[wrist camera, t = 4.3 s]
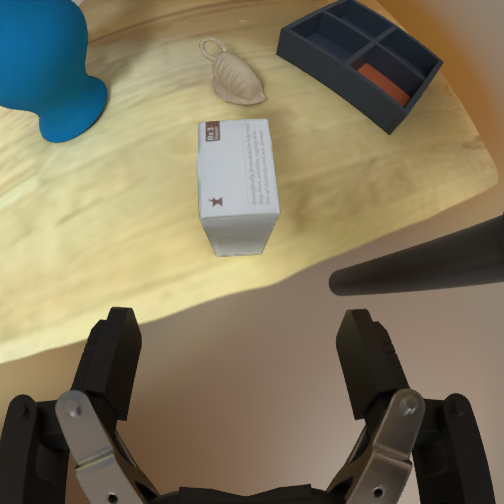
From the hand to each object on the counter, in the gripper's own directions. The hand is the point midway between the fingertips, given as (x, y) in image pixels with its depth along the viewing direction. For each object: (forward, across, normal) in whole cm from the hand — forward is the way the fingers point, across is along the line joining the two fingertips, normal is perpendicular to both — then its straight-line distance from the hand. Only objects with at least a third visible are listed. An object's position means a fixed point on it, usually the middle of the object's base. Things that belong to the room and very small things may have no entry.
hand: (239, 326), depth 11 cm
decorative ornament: (+28, +1, -6) cm, 29 cm away
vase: (+27, +20, -5) cm, 34 cm away
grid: (+33, -16, -11) cm, 38 cm away
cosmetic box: (+16, 0, +5) cm, 17 cm away
